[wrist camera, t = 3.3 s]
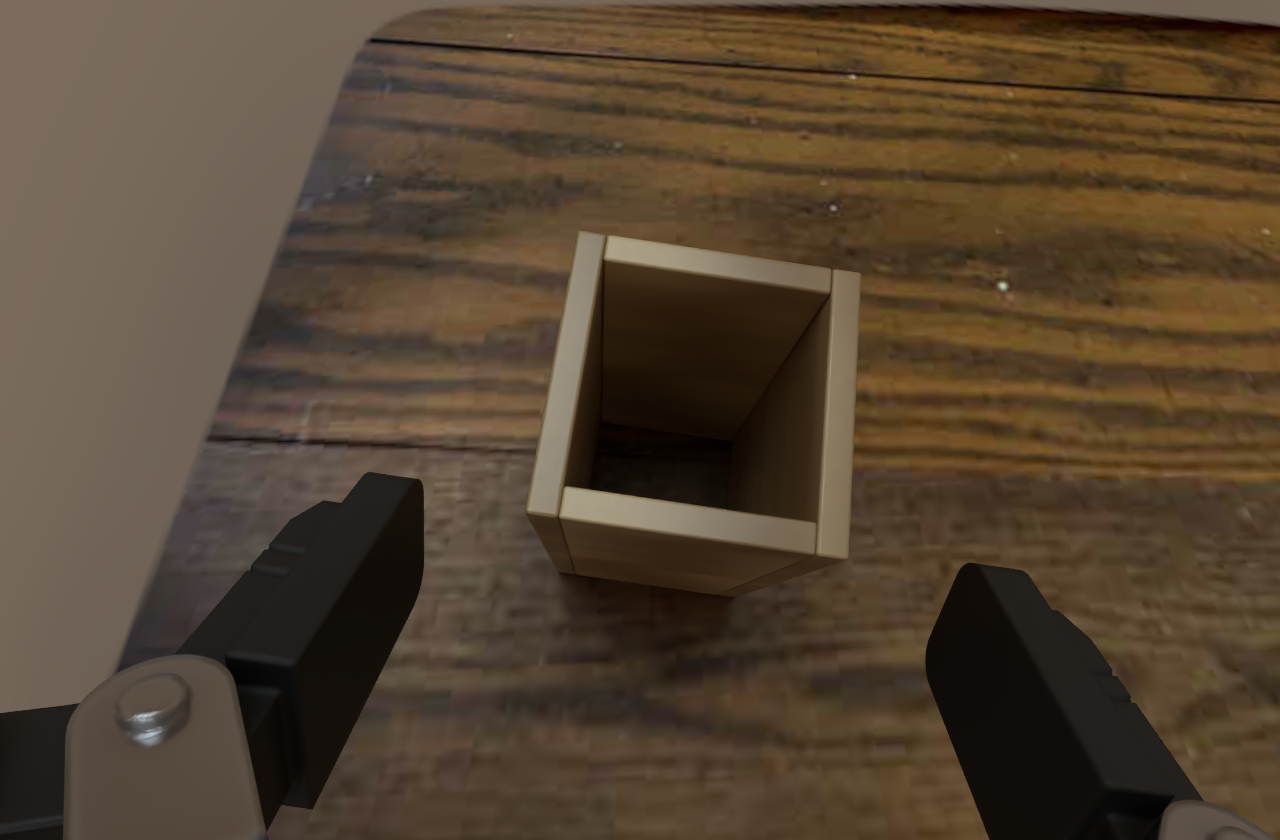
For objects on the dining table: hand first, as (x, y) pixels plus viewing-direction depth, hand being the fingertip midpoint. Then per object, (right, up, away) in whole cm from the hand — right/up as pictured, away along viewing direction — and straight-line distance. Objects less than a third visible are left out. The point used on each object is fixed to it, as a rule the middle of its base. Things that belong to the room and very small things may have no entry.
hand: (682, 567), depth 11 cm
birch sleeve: (0, 0, +9) cm, 9 cm away
